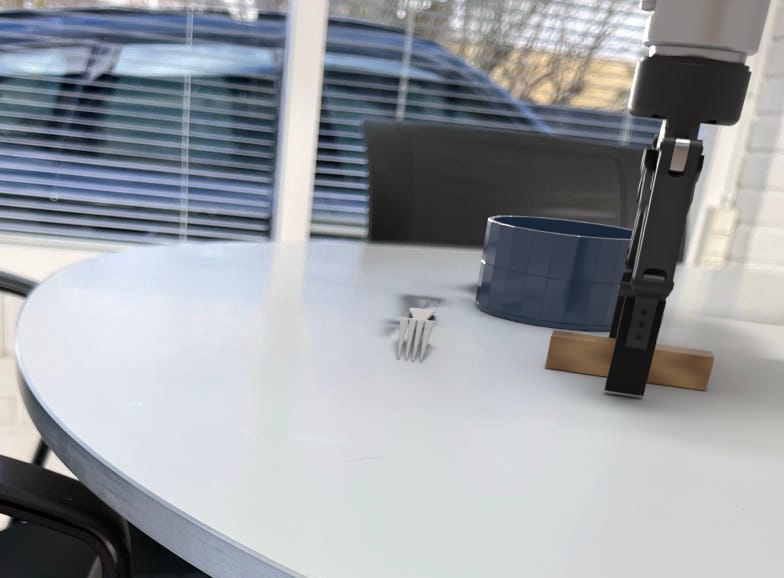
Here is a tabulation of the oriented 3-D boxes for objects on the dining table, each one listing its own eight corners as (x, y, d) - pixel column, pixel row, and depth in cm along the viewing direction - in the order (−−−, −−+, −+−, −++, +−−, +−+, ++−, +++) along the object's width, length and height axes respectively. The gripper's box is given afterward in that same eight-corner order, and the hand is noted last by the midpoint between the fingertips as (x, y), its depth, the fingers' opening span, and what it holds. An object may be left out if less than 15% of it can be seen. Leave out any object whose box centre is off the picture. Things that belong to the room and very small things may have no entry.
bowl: (632, 311, 109) (650, 229, 105) (635, 338, 96) (656, 245, 92) (483, 292, 112) (496, 211, 108) (466, 316, 98) (480, 224, 95)
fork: (434, 340, 99) (438, 309, 98) (428, 362, 79) (433, 324, 78) (404, 336, 99) (408, 306, 98) (391, 358, 80) (395, 320, 79)
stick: (703, 384, 81) (712, 351, 80) (706, 391, 79) (715, 357, 78) (546, 361, 83) (552, 329, 82) (545, 368, 81) (551, 335, 80)
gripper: (635, 60, 83) (577, 337, 93) (644, 39, 61) (568, 402, 71) (734, 70, 81) (665, 349, 91) (780, 52, 60) (682, 420, 70)
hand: (622, 373), depth 81 cm, fingers open, 13 cm apart
